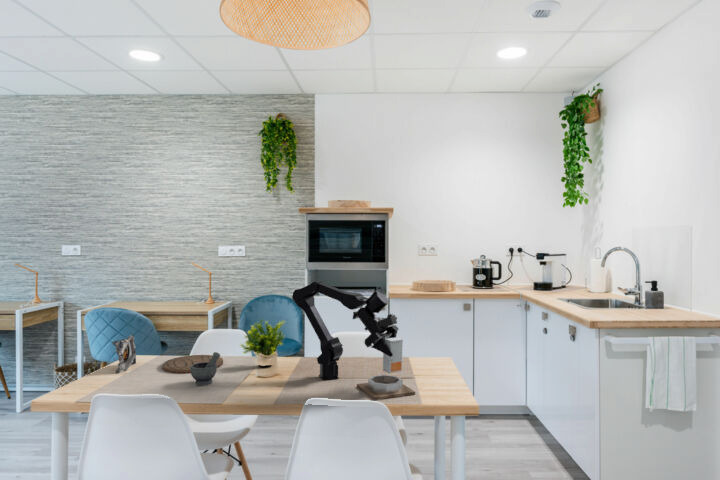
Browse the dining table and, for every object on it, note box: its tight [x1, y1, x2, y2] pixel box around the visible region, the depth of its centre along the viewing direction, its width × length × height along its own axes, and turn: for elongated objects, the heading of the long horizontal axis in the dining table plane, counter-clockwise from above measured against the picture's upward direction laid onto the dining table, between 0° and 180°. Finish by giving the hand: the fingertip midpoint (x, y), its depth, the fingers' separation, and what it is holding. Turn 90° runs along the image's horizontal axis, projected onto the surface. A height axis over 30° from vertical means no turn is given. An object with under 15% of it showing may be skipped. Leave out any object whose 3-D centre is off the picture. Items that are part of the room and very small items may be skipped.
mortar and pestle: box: [190, 351, 221, 387], centre depth 174 cm, size 11×9×12 cm
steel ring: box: [367, 374, 404, 393], centre depth 167 cm, size 12×12×3 cm
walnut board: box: [356, 382, 416, 401], centre depth 167 cm, size 16×16×1 cm
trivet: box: [162, 354, 224, 374], centre depth 200 cm, size 25×25×2 cm
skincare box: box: [382, 336, 404, 374], centre depth 169 cm, size 6×4×12 cm
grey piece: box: [112, 334, 137, 374], centre depth 194 cm, size 15×4×13 cm, turn 7°
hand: (396, 353), depth 168 cm, fingers closed on skincare box, 7 cm apart
